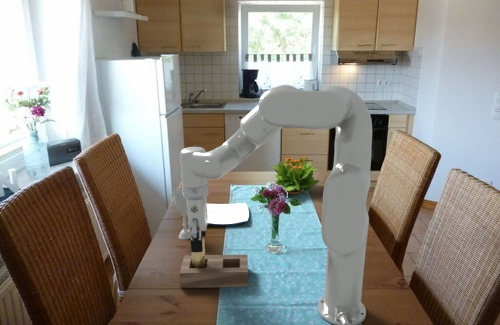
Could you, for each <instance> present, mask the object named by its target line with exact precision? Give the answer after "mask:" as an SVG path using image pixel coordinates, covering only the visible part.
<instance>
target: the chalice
mask: <svg viewBox="0 0 500 325" xmlns="http://www.w3.org/2000/svg"><path fill="white" fill-rule="evenodd" d="M172 193H173V195H174V203H175V204H174V205H175V207H176V209H177V211H178V212H179V214H180V215H181V216H182V222H183V223H182V226H183V229H181V231H180V232H179V235H178V239H180V240H189V239H191V231H189V228H187V225H188V222H187V221H188V218H187V217H186V216H188V215H187V199H186V198H184V197H183V194H182V187H181V188H178V189H174V190H173V192H172Z"/></svg>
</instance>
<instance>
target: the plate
mask: <svg viewBox="0 0 500 325" xmlns="http://www.w3.org/2000/svg"><path fill="white" fill-rule="evenodd" d="M249 211H250V210H249V207H248V205H247V203H246V202H241V203H240V202H239V203H238V202H237V203H222V204H221V203H207V212H208V223H207V226H208V225H209V226H219V225H220V227H221V226H223V227H224V226H226V227H227V226H235V225H242V224H243V225H244V224H245V223H247V222H248V220H249V219H250V212H249Z"/></svg>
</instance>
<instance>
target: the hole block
mask: <svg viewBox="0 0 500 325" xmlns="http://www.w3.org/2000/svg"><path fill="white" fill-rule="evenodd" d="M248 256H249V255H248V254H205V268H192V254H191V255H189V254H188V255H184V256H183V260H182V263H181V267H180V270H179V282H180V286H179V287H180V288H182V289H185V288H187V289H189V288H191V289H192V288H197V289H198V288H246V287H249V262H248V261H249V260H248V259H249V258H248Z"/></svg>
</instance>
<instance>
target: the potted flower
mask: <svg viewBox="0 0 500 325" xmlns="http://www.w3.org/2000/svg"><path fill="white" fill-rule="evenodd" d="M307 162H308V163H307ZM312 165H313V163H312V161H309V157H308V156H304V157H302V156H300V157H299V159H294V157H287V158H285V162H283V161H280V160H279V161H278V163H277V165H276V164H274V165H272V166H270V168H271V169H274V172H276V173H277V174H276V175H275V177H276V178H277V180H275V183H276V185H277V184H278V185H277V186H280V185H282V186H283V187H284V188H285V190H286V191H287V192H288V194H287V195H300V194H301V193H302V192H303V191H307V192H308V191H309V190H310V189H311V188H312V187H313V186H315V185H317V184H318V183H319V182H320V180H319V179H315V177H313V176H314V172H318V171H319V169H318V168H316V167H315V166H312Z"/></svg>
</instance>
